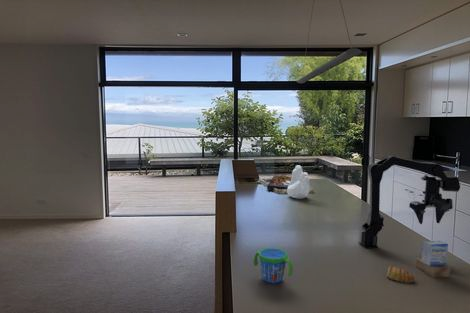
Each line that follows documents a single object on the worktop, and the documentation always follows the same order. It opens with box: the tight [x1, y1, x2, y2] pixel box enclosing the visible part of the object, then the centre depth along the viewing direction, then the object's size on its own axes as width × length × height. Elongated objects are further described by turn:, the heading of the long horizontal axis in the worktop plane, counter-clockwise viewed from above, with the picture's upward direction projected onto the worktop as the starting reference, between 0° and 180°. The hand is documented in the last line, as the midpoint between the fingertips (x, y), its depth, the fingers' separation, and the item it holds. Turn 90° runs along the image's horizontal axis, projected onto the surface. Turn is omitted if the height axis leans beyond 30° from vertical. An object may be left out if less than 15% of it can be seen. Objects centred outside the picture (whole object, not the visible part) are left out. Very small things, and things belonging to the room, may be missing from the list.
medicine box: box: [421, 240, 449, 266], centre depth 137 cm, size 8×4×9 cm, turn 101°
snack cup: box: [253, 247, 294, 284], centre depth 127 cm, size 16×10×10 cm
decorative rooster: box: [287, 164, 311, 200], centre depth 260 cm, size 25×16×25 cm, turn 2°
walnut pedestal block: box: [415, 257, 451, 279], centre depth 138 cm, size 7×10×4 cm
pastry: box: [386, 266, 415, 283], centre depth 131 cm, size 9×7×4 cm
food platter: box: [266, 174, 292, 192], centre depth 305 cm, size 45×25×10 cm, turn 167°
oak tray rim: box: [258, 178, 315, 195], centre depth 305 cm, size 32×52×3 cm, turn 12°
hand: (429, 223), depth 159 cm, fingers open, 9 cm apart
